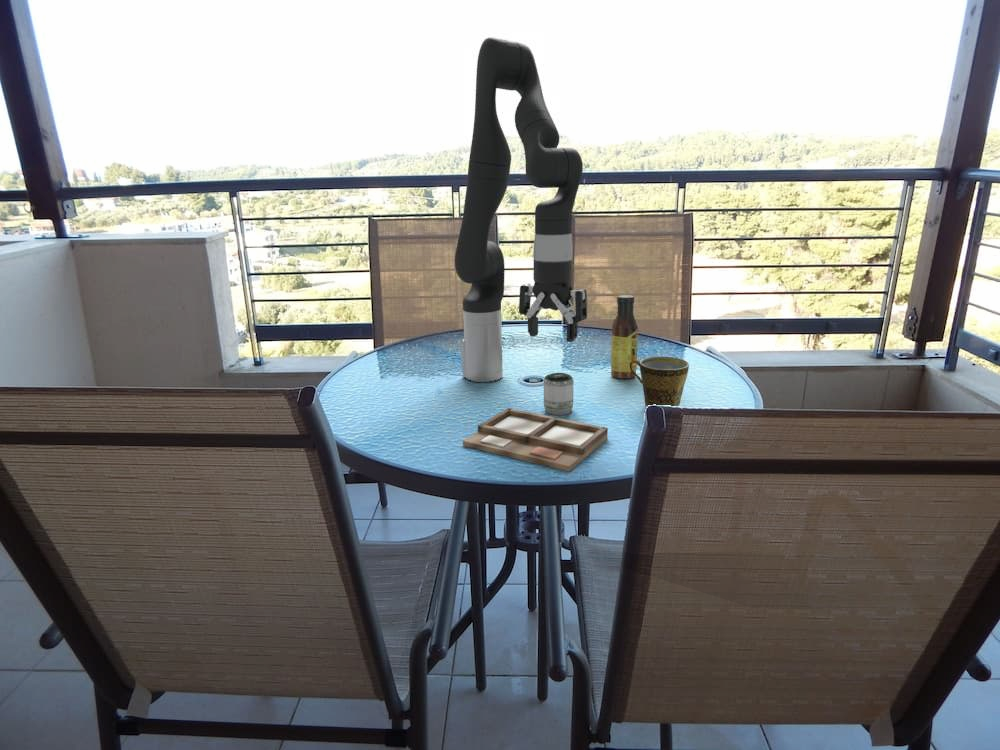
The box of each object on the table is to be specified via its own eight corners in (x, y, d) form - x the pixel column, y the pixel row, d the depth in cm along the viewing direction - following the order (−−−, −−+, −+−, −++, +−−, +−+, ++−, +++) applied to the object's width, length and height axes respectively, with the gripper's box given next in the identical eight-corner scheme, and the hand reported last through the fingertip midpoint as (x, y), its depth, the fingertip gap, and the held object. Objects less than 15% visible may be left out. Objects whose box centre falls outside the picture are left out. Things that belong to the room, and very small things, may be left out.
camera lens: (578, 413, 131) (579, 377, 129) (551, 417, 129) (551, 381, 126) (564, 403, 137) (565, 369, 134) (538, 408, 134) (538, 373, 132)
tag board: (463, 445, 116) (462, 434, 116) (508, 418, 129) (507, 408, 128) (569, 471, 105) (569, 459, 104) (607, 438, 118) (607, 427, 117)
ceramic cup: (694, 406, 133) (697, 361, 130) (672, 420, 126) (675, 372, 123) (640, 394, 141) (642, 351, 138) (616, 406, 134) (617, 361, 131)
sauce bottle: (636, 380, 151) (639, 299, 145) (610, 379, 152) (612, 298, 146) (636, 372, 157) (639, 294, 151) (610, 371, 158) (613, 293, 152)
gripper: (594, 257, 120) (592, 339, 125) (531, 253, 128) (531, 330, 133) (576, 262, 114) (574, 347, 119) (511, 257, 122) (512, 337, 127)
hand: (551, 338), depth 126 cm, fingers open, 8 cm apart
